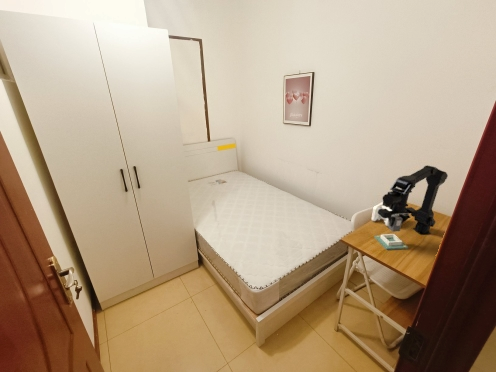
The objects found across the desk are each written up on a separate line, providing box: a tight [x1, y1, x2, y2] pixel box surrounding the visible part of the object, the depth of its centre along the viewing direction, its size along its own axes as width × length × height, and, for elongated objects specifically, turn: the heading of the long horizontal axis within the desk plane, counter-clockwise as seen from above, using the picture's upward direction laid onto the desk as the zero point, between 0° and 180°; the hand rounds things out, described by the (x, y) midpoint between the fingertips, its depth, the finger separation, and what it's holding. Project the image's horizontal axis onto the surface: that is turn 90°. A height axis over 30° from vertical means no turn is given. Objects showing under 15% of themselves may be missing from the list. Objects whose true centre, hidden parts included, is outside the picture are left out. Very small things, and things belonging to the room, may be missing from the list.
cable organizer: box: [371, 201, 399, 227], centre depth 145 cm, size 15×11×12 cm
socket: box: [380, 233, 403, 246], centre depth 125 cm, size 8×8×2 cm
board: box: [373, 234, 409, 251], centre depth 126 cm, size 12×12×1 cm
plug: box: [387, 214, 403, 233], centre depth 121 cm, size 4×4×8 cm
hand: (394, 225), depth 122 cm, fingers closed on plug, 4 cm apart
